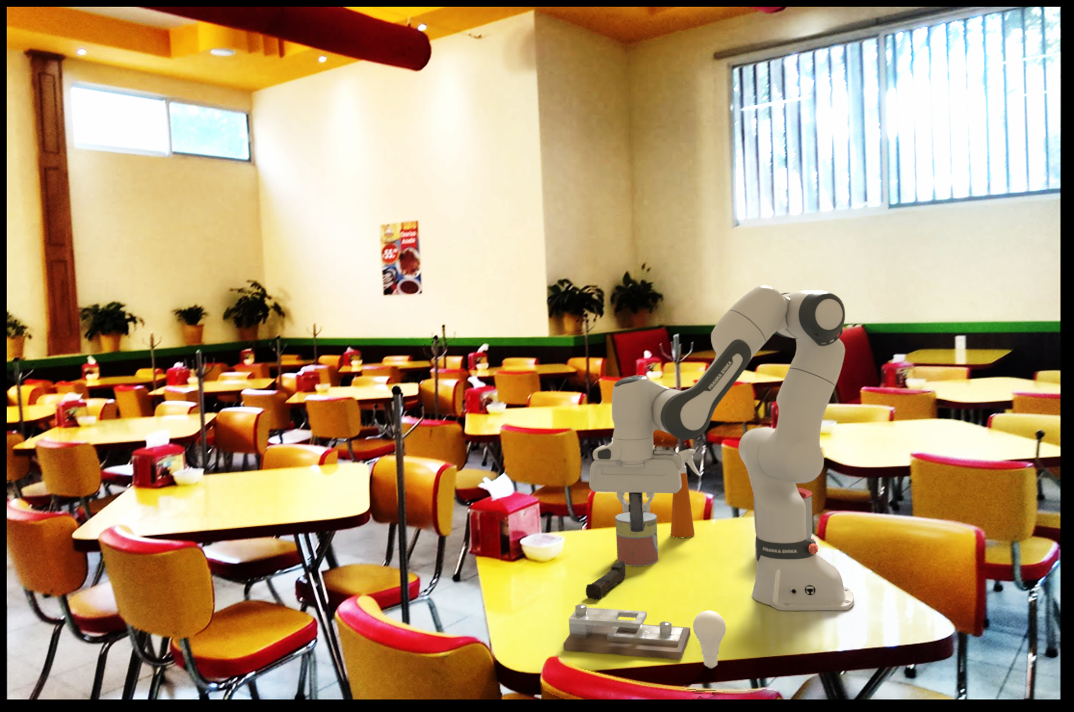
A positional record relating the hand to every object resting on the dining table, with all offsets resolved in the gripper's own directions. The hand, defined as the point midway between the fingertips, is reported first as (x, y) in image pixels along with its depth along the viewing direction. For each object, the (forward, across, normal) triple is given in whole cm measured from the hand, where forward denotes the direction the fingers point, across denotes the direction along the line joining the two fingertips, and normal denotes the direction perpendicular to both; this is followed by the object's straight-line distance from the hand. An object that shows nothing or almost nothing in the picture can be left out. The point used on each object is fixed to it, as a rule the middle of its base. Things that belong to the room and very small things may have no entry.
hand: (636, 511), depth 190 cm
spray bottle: (+24, -1, -67) cm, 71 cm away
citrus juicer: (+24, -29, -52) cm, 64 cm away
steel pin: (+4, 0, 0) cm, 4 cm away
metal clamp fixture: (+23, 0, +14) cm, 27 cm away
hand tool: (+24, +12, -19) cm, 33 cm away
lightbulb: (+24, -18, +23) cm, 38 cm away
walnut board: (+24, 0, +14) cm, 28 cm away
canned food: (+24, +9, -42) cm, 49 cm away
